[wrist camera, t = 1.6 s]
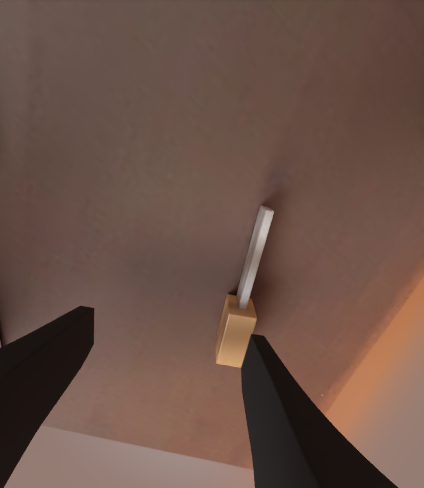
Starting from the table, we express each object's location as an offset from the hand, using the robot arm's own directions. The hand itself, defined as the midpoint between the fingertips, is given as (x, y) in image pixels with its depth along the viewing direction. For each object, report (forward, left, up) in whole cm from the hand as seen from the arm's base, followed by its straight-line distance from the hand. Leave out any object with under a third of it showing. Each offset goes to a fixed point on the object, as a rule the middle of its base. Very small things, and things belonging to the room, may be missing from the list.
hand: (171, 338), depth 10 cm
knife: (-2, -5, -9) cm, 10 cm away
